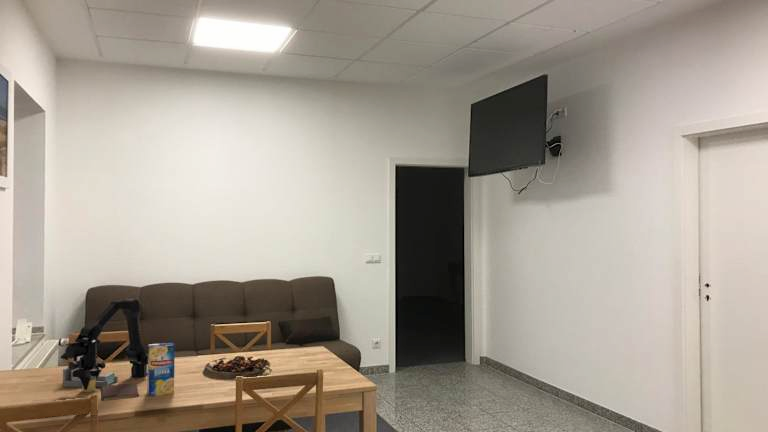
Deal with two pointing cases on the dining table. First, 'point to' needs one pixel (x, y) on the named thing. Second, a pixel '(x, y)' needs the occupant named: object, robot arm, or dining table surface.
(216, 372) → the food dish
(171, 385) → the blue yellow food box
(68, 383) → the lane
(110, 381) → the bar
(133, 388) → the notebook
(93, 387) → the jar
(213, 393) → the dining table surface
